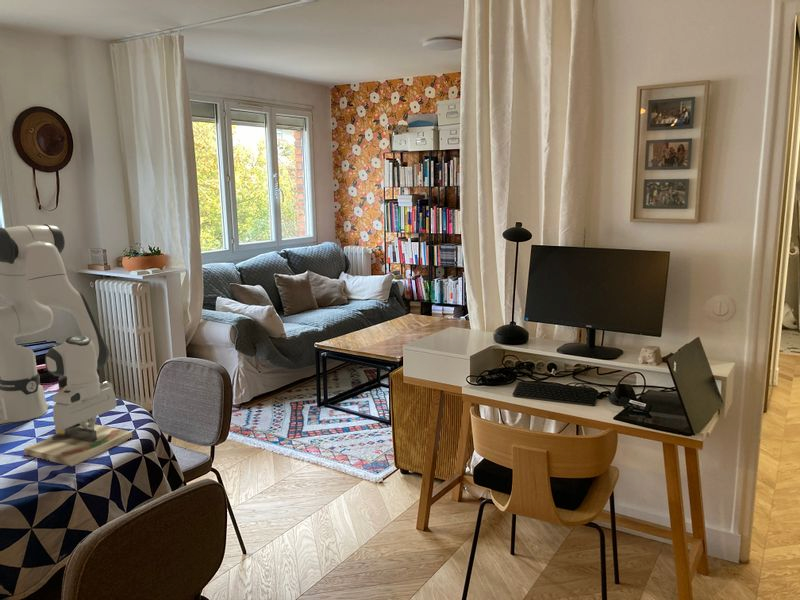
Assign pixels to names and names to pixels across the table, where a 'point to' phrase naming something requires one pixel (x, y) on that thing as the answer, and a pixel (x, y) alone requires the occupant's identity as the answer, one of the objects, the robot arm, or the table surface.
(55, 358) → the robot arm
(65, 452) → the dial board
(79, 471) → the table surface
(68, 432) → the tuning needle
